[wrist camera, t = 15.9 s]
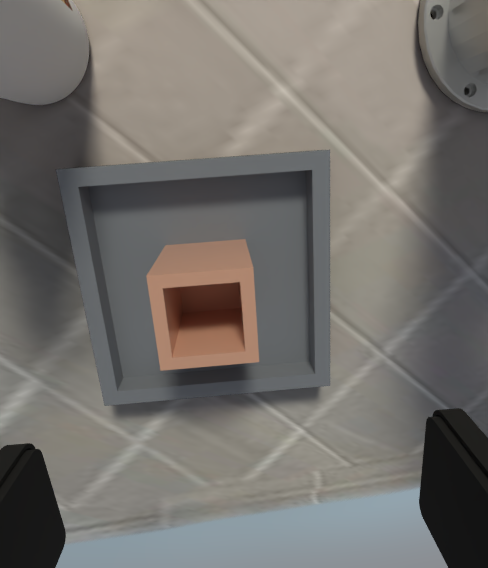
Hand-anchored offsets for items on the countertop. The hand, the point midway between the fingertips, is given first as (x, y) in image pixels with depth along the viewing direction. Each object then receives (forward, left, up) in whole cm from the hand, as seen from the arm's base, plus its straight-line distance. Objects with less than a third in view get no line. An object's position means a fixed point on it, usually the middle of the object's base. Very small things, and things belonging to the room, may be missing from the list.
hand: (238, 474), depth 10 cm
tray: (+2, +2, -23) cm, 23 cm away
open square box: (+2, +2, -22) cm, 22 cm away
